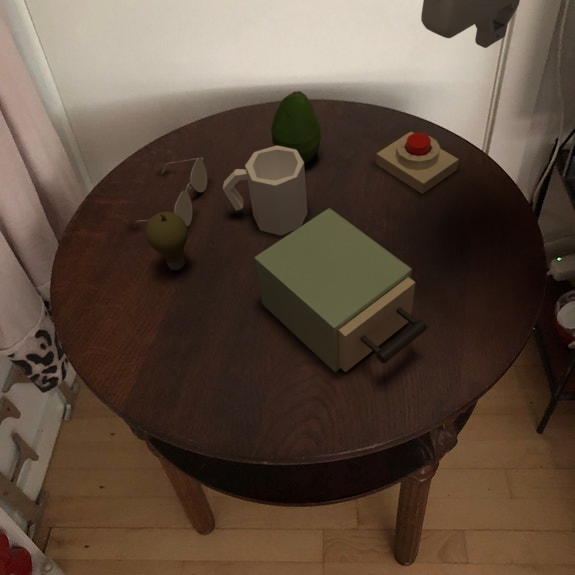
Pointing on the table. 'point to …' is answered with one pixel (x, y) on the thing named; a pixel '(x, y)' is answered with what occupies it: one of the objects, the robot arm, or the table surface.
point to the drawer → (380, 327)
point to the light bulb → (168, 237)
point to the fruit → (297, 126)
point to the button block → (417, 164)
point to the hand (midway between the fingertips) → (489, 41)
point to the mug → (272, 189)
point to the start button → (418, 144)
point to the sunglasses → (198, 184)
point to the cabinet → (325, 280)
